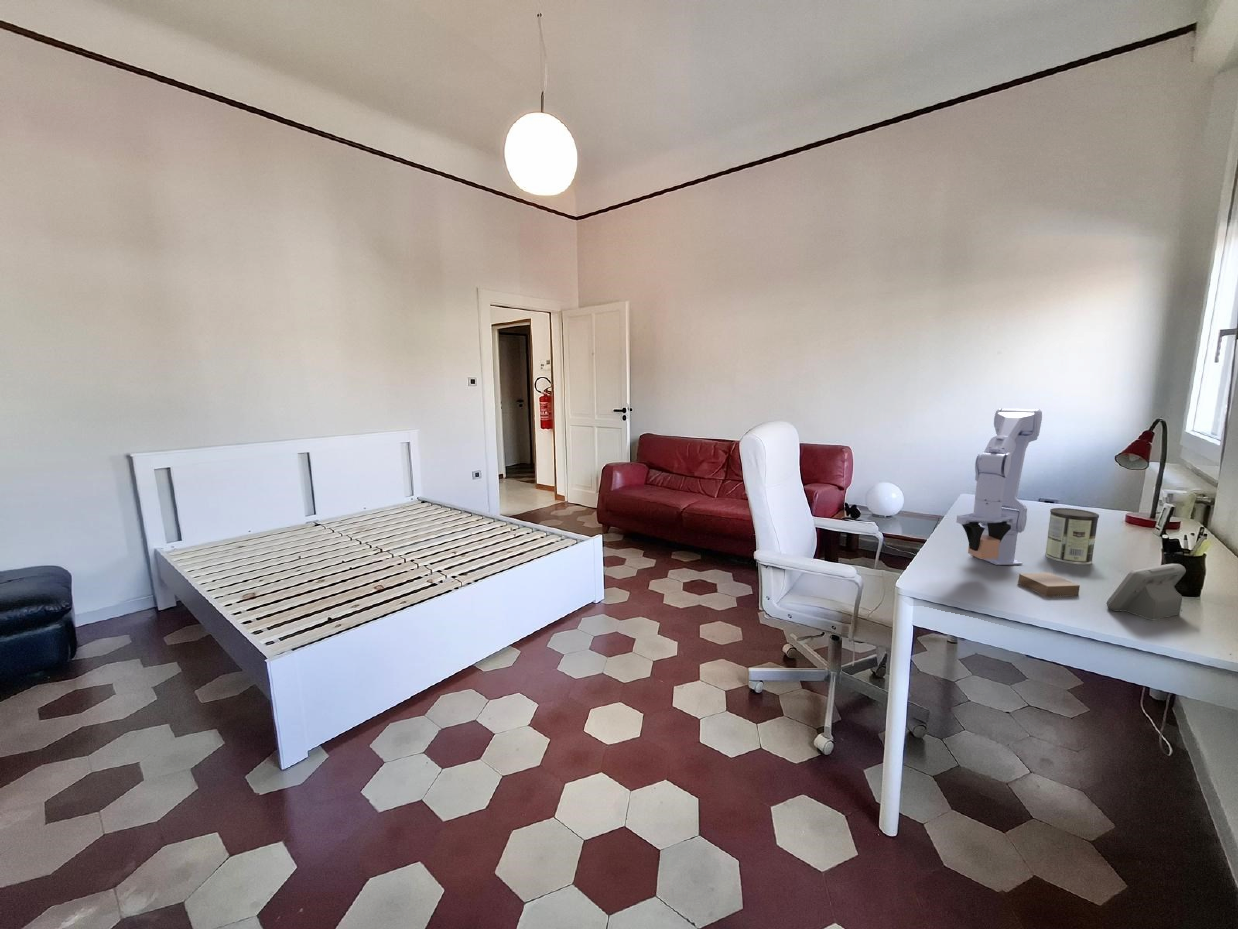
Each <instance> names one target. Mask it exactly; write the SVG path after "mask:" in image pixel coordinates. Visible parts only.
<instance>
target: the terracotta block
mask: <svg viewBox="0 0 1238 929" xmlns="http://www.w3.org/2000/svg"><path fill="white" fill-rule="evenodd" d="M999 545H1000V540H998V539H996V538H993V537H991V536H988V535H982V536H981V539H980V545H979V549H978V551H974V550H972V549H970V547H969V546H968V549H967V553H968V554H969V555H971V556H973V557H975V558H978V559H980V560H984V559H998V553H999Z"/></svg>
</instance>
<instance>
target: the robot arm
mask: <svg viewBox="0 0 1238 929" xmlns="http://www.w3.org/2000/svg"><path fill="white" fill-rule="evenodd" d="M1042 420H1043V411H1042V410H1041V409H1040V408H1035V409H1033V408H1030V409H1028V408H1027V409H1026V408H1001V407H999V408H998V409H997V410H995V412H994V418H993V427H994V430H995V434H996V435H995V436H993V437H991V438H990V439H989V441H988V443H987V446H986V447H985V449H984V451H983V452H982V453H981V454H977V456H976V459H975V464H974V469H975V470H974V471H975V473H974V474H975V477H974V480H975V481H976V486H975V487H976V488H975V495H974V503H973V504H974V506H973V513H966V514H958V515H956V523H957V524H960V525H961V526H962V528H963V530H964V532H965V534H966V537H967V541H968V548H969V547H970V549H972V550H974V551H978V549H979V545H980V539H981V536H982V535H988V536H991V537H993V538H996V539H998V540H1000V545H999V553H998V559H983V560H984V561H986V562H988V563H991V564H992V565H996V566H1002V565H1004V566H1007V565H1008V566H1009V565H1023V562H1022V561H1019V560H1017V559H1015V555H1016V549H1017V548H1016V547H1017V541H1018V534H1019V533H1020V534H1021V533H1022V532H1024V531H1025V528H1026V525H1027V520H1028V519H1027V518H1028V517H1027V516H1028V515H1027V514H1028V507H1027V506H1026V505H1025V504H1024V503H1023V502H1022V501H1020V500H1019V499H1018V493H1019V488H1020V482H1021V476H1022V472H1023V466H1024V461H1025V456H1026V451H1027V448H1028V446H1029V444H1030V443H1031V442H1034V441H1037V440H1038V437H1039V435H1040V431H1041V426H1042Z"/></svg>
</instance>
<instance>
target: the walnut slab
mask: <svg viewBox="0 0 1238 929" xmlns="http://www.w3.org/2000/svg"><path fill="white" fill-rule="evenodd" d="M1018 584H1019V585H1020V586H1023V587H1025V588H1027V589H1029V590H1031V591H1034V592H1035V593H1037V594H1039V595H1042V596H1043V597H1047V598H1048V597H1050V598H1051V597H1072V596H1073V597H1076V596H1078V597H1079V594H1080V587H1081V585H1080V584H1077V583H1075V582H1072V581H1071V580H1068V579H1066V578H1063V577H1061V576H1059V575H1056V574H1053V573H1051V572H1039V573H1038V572H1036V573H1035V572H1033V573H1030V572H1029V573H1019V574H1018Z"/></svg>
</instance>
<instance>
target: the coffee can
mask: <svg viewBox="0 0 1238 929" xmlns="http://www.w3.org/2000/svg"><path fill="white" fill-rule="evenodd" d="M1049 511H1050V513H1049V514H1050V516H1049V520H1048V521H1049V522H1048V531H1047V540H1046V547H1045V553H1044V556H1045V557H1047V558H1048V559H1050V560H1053V561H1055V562H1056V561H1057V562H1061V563H1064V564H1070V565H1080V566H1081V565H1083V566H1086V565H1087V566H1088V565H1092V564H1093V557H1094V556H1093V555H1094V549H1095V542H1096V535H1097V528H1098V521H1099V518H1100V514H1098V513H1096V512H1093V511H1091V510H1090V511H1089V510H1085V509H1077V508H1072V507H1071V508H1070V507H1069V508H1068V507H1053V508H1050V509H1049Z"/></svg>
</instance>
